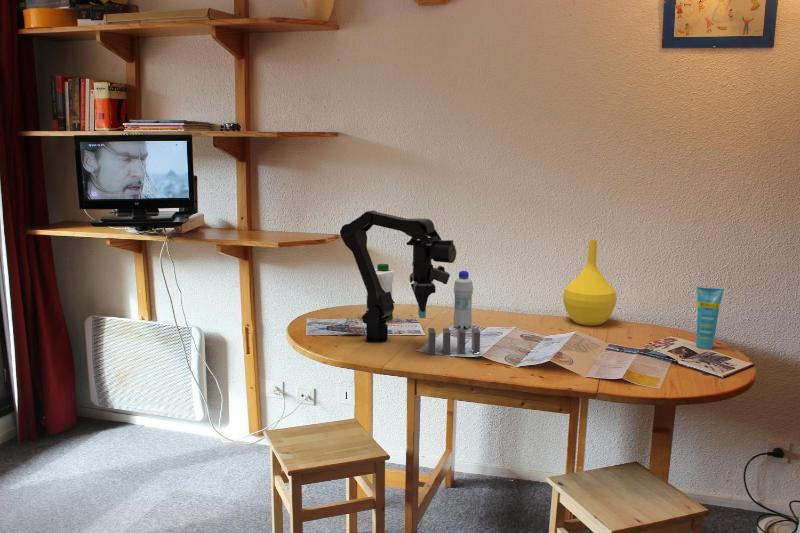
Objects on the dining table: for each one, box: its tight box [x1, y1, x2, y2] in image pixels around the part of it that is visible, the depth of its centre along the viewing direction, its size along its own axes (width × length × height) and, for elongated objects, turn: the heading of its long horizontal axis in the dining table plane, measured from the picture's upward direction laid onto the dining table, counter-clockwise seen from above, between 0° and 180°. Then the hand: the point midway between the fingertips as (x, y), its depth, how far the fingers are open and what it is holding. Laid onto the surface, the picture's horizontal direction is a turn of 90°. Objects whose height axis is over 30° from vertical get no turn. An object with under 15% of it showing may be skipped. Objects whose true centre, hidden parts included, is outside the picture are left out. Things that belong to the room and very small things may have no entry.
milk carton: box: [365, 263, 395, 322], centre depth 242 cm, size 9×9×20 cm
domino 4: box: [456, 327, 466, 355], centre depth 207 cm, size 2×5×7 cm, turn 2°
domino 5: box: [471, 327, 481, 353], centre depth 207 cm, size 2×5×7 cm, turn 2°
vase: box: [562, 238, 617, 327], centre depth 240 cm, size 18×18×30 cm
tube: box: [695, 286, 724, 350], centre depth 212 cm, size 7×5×19 cm, turn 73°
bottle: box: [453, 270, 474, 330], centre depth 233 cm, size 7×7×20 cm
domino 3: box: [442, 327, 451, 356], centre depth 207 cm, size 2×5×7 cm, turn 2°
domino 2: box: [427, 327, 436, 356], centre depth 206 cm, size 2×5×7 cm, turn 2°
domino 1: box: [417, 304, 427, 319], centre depth 210 cm, size 2×5×7 cm, turn 5°
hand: (421, 309), depth 210 cm, fingers closed on domino 1, 5 cm apart
